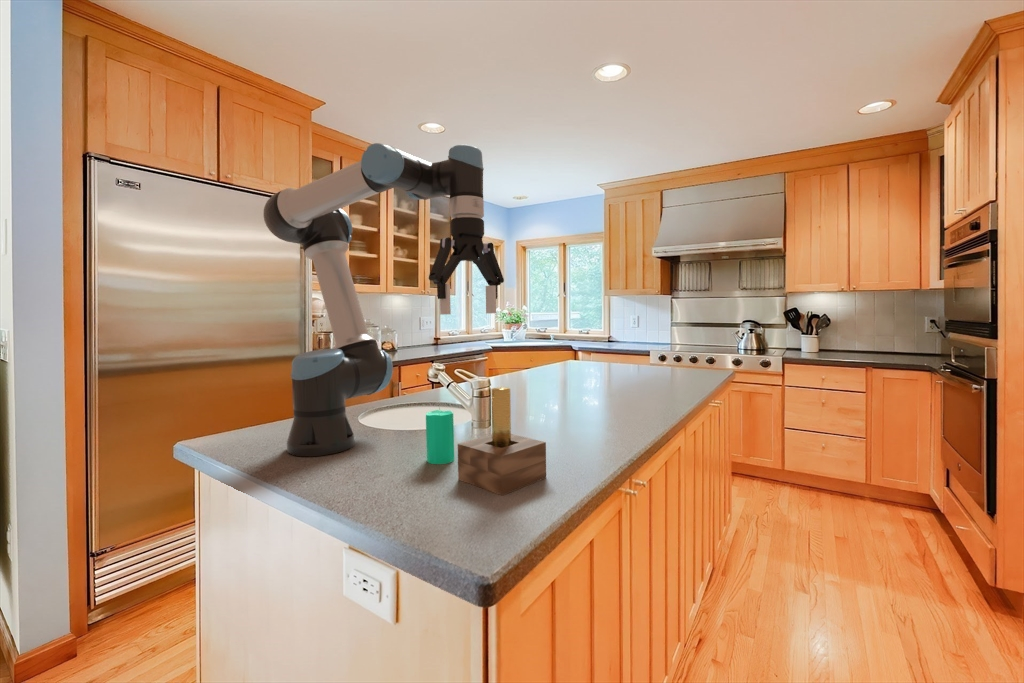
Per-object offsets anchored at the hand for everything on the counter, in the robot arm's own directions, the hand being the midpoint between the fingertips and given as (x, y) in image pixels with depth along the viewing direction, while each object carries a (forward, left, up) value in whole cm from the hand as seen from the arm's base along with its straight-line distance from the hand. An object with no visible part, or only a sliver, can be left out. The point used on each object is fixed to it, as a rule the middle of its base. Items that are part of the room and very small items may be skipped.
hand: (469, 314), depth 110 cm
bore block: (+18, -8, -32) cm, 37 cm away
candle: (0, -9, -32) cm, 33 cm away
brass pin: (+18, -8, -28) cm, 34 cm away
